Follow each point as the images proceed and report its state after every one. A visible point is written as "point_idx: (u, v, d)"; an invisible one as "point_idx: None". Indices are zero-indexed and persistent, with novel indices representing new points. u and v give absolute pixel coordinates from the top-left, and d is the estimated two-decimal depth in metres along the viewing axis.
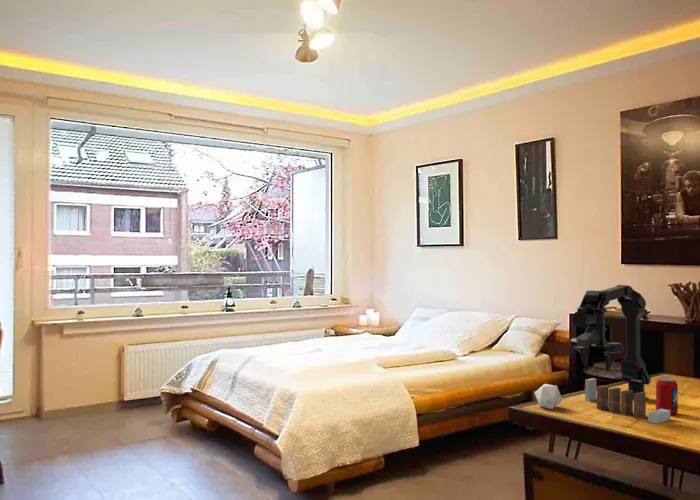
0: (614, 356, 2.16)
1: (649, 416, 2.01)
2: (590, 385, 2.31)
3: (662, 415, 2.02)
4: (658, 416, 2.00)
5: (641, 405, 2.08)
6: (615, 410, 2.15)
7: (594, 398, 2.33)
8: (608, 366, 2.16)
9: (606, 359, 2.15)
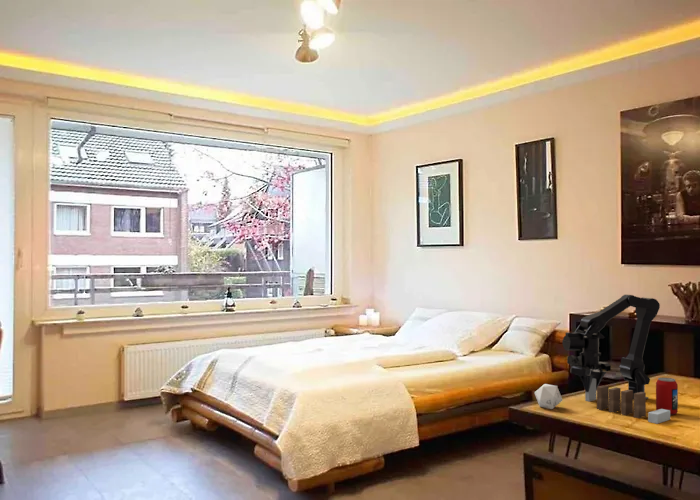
0: (588, 379, 2.29)
1: (649, 416, 2.01)
2: None
3: (662, 415, 2.02)
4: (658, 416, 2.00)
5: (641, 405, 2.08)
6: (615, 410, 2.15)
7: (594, 398, 2.33)
8: (585, 387, 2.31)
9: None
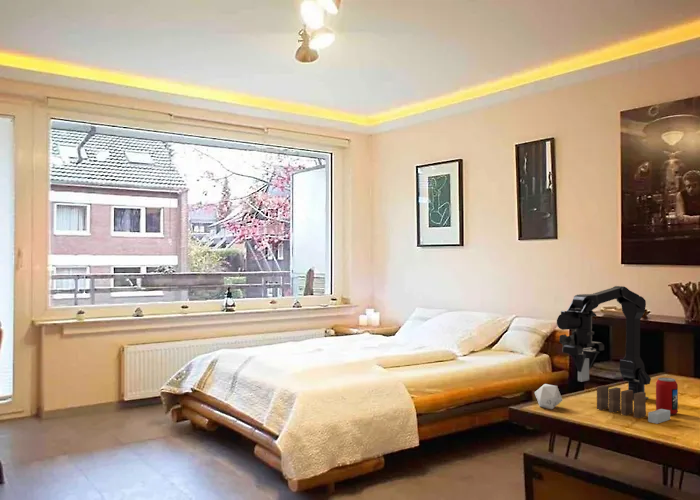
0: (581, 358, 2.22)
1: (649, 416, 2.01)
2: (583, 365, 2.24)
3: (662, 415, 2.02)
4: (658, 416, 2.00)
5: (641, 405, 2.08)
6: (615, 410, 2.15)
7: (587, 378, 2.26)
8: (577, 367, 2.24)
9: None
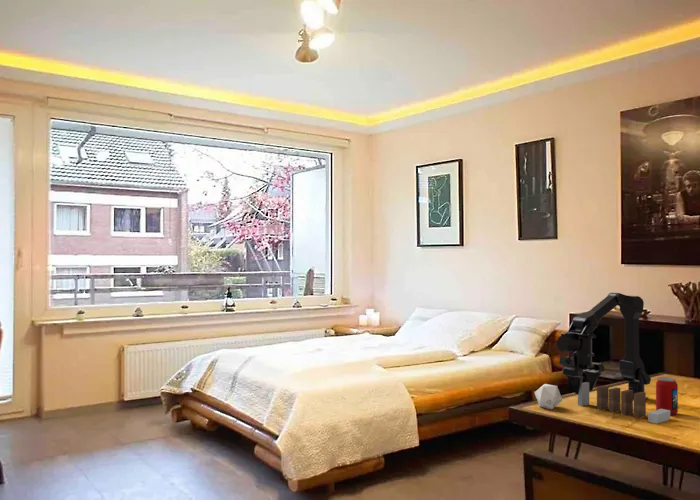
0: (578, 381, 2.20)
1: (649, 416, 2.01)
2: (583, 389, 2.24)
3: (662, 415, 2.02)
4: (658, 416, 2.00)
5: (641, 405, 2.08)
6: (615, 410, 2.15)
7: (587, 402, 2.25)
8: (575, 389, 2.22)
9: None
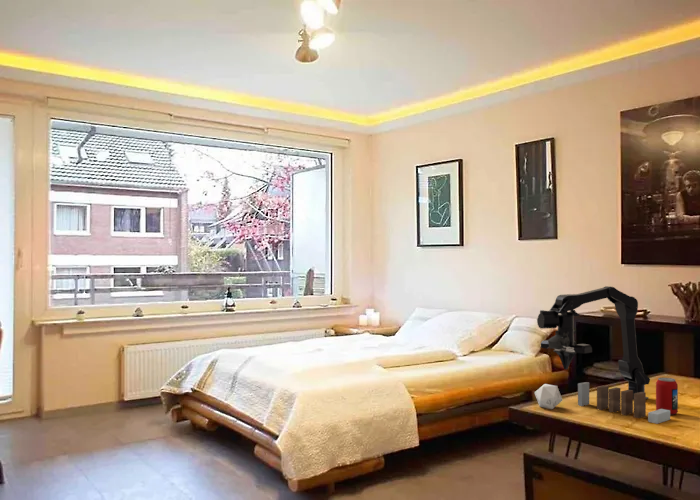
0: (572, 355, 2.31)
1: (649, 416, 2.01)
2: (583, 389, 2.24)
3: (662, 415, 2.02)
4: (658, 416, 2.00)
5: (641, 405, 2.08)
6: (615, 410, 2.15)
7: (587, 402, 2.25)
8: (567, 365, 2.31)
9: (565, 358, 2.30)
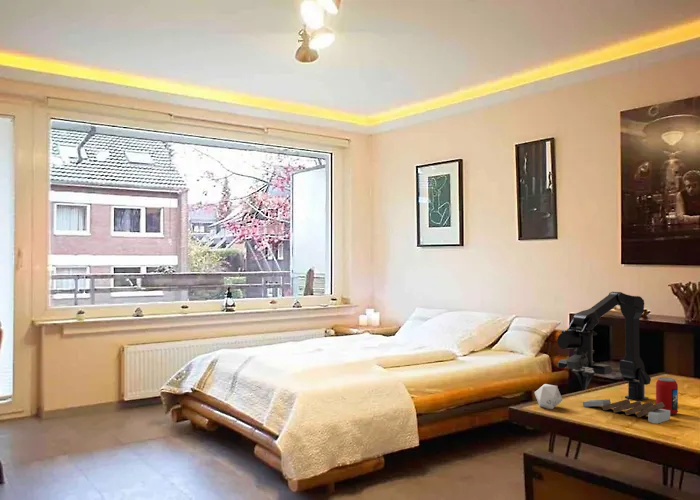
0: (591, 376, 2.25)
1: (649, 416, 2.01)
2: (599, 405, 2.19)
3: (662, 415, 2.02)
4: (658, 416, 2.00)
5: None
6: None
7: None
8: (585, 385, 2.24)
9: (584, 379, 2.24)
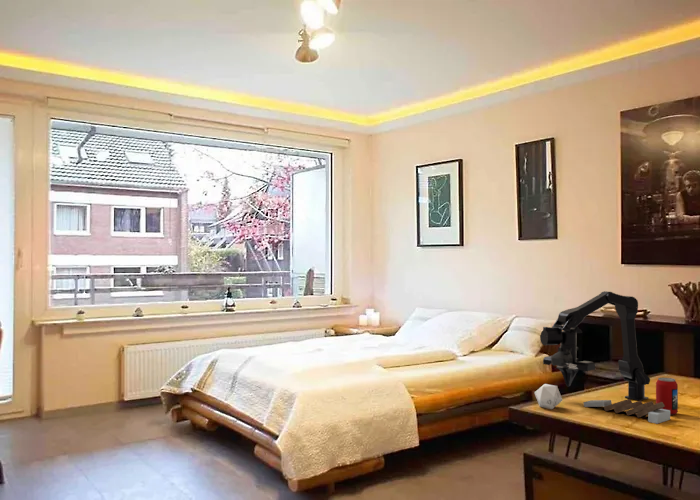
0: (575, 372, 2.30)
1: (649, 416, 2.01)
2: None
3: (662, 415, 2.02)
4: (658, 416, 2.00)
5: None
6: None
7: None
8: (569, 382, 2.29)
9: (568, 375, 2.29)
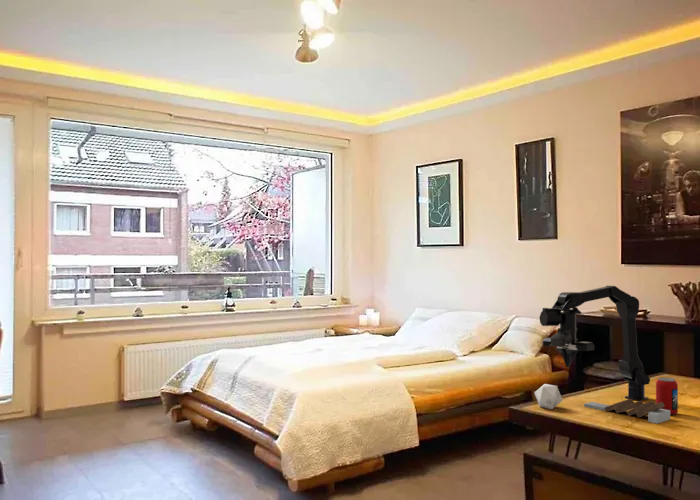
0: (574, 353, 2.30)
1: (649, 416, 2.01)
2: None
3: (662, 415, 2.02)
4: (658, 416, 2.00)
5: None
6: None
7: None
8: (569, 363, 2.30)
9: (567, 356, 2.29)
